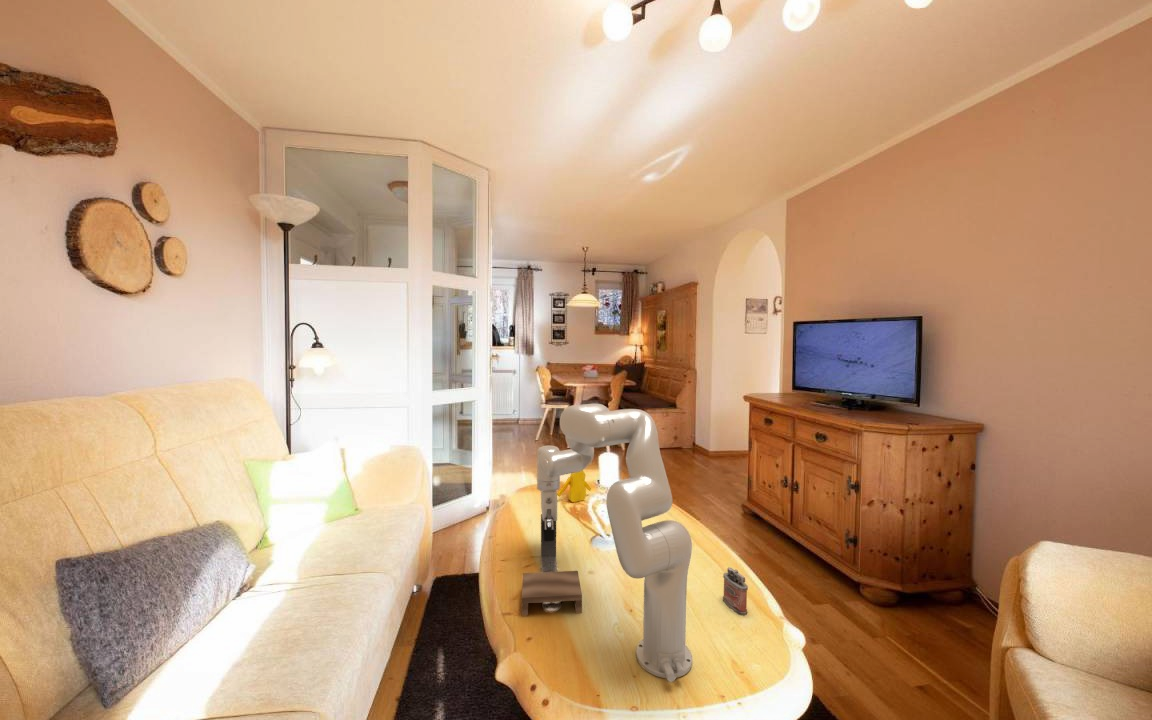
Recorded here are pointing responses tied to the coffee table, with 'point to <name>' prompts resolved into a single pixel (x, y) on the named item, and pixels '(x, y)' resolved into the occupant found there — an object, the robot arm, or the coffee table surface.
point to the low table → (551, 588)
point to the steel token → (551, 606)
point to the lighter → (735, 591)
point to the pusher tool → (548, 550)
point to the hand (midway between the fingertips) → (548, 533)
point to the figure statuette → (576, 487)
